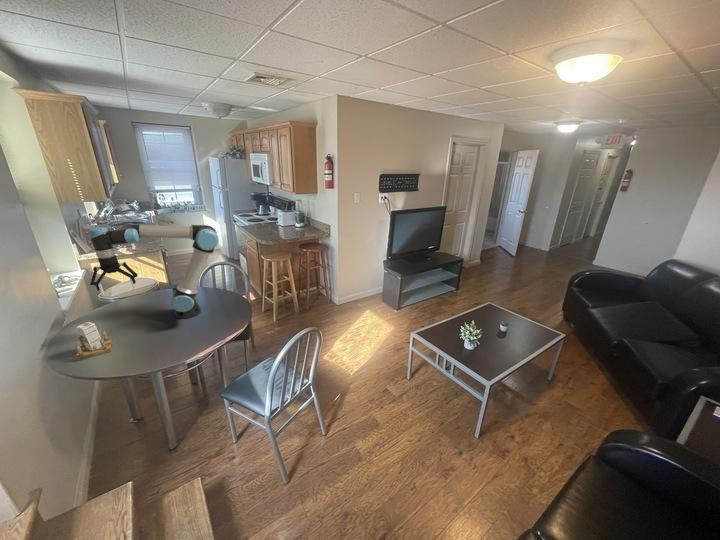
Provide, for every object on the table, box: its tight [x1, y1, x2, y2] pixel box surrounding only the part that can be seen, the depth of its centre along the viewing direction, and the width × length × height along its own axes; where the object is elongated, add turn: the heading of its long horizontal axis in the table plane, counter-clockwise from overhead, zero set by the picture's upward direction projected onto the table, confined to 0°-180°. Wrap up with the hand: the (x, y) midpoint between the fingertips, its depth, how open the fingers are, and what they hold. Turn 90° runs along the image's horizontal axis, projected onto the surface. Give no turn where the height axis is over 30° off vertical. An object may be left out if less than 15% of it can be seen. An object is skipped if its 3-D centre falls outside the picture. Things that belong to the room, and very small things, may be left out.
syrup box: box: [76, 321, 102, 351], centre depth 154 cm, size 6×6×14 cm
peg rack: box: [74, 329, 114, 362], centre depth 156 cm, size 12×14×8 cm
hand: (119, 292), depth 160 cm, fingers open, 13 cm apart
